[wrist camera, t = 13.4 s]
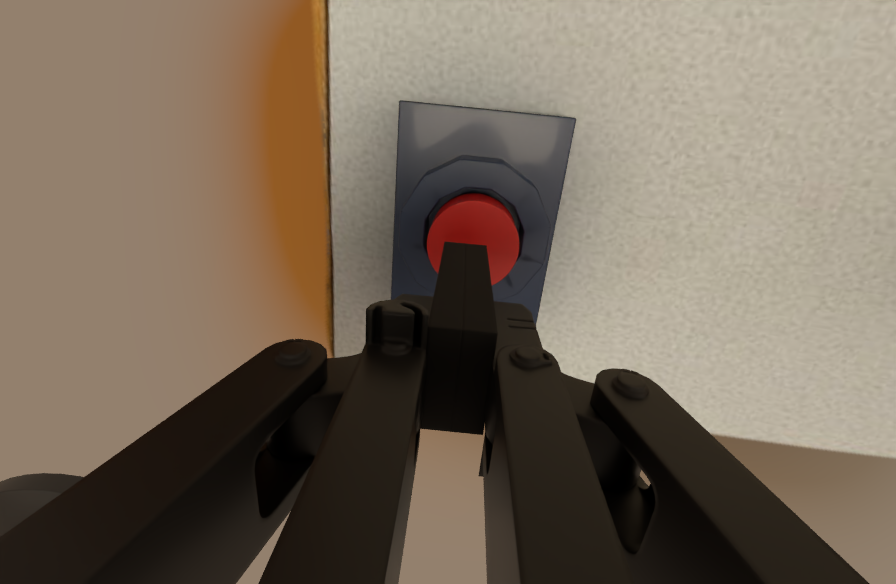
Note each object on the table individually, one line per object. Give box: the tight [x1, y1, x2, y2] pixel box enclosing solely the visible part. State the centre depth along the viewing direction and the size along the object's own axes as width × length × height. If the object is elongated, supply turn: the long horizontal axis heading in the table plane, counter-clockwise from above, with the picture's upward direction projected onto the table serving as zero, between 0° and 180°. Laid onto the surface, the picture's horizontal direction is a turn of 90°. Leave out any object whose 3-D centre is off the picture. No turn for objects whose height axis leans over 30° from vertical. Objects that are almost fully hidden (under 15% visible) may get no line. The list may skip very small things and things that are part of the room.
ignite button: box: [427, 193, 519, 285], centre depth 19 cm, size 4×4×2 cm
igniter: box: [391, 101, 576, 326], centre depth 22 cm, size 11×8×4 cm
